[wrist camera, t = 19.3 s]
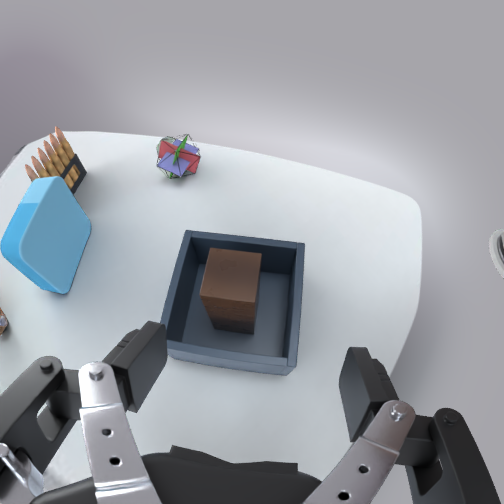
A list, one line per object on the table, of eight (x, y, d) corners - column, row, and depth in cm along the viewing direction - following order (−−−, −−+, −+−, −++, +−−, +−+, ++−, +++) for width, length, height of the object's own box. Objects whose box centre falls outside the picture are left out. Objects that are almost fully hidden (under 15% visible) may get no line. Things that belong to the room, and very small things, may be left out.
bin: (296, 272, 35) (304, 242, 29) (287, 375, 29) (296, 367, 23) (195, 260, 36) (185, 229, 30) (173, 358, 30) (154, 345, 24)
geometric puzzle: (218, 152, 44) (185, 116, 39) (201, 182, 40) (163, 143, 35) (190, 166, 48) (159, 135, 43) (172, 195, 45) (137, 162, 40)
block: (254, 334, 31) (255, 302, 22) (214, 329, 31) (199, 294, 22) (259, 297, 33) (261, 253, 24) (221, 292, 33) (210, 247, 24)
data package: (72, 224, 39) (37, 173, 29) (94, 225, 39) (59, 170, 29) (46, 293, 33) (-5, 250, 23) (68, 298, 33) (16, 253, 23)
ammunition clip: (79, 172, 46) (55, 123, 35) (87, 172, 45) (62, 122, 35) (53, 217, 40) (18, 169, 30) (60, 218, 40) (25, 169, 30)
